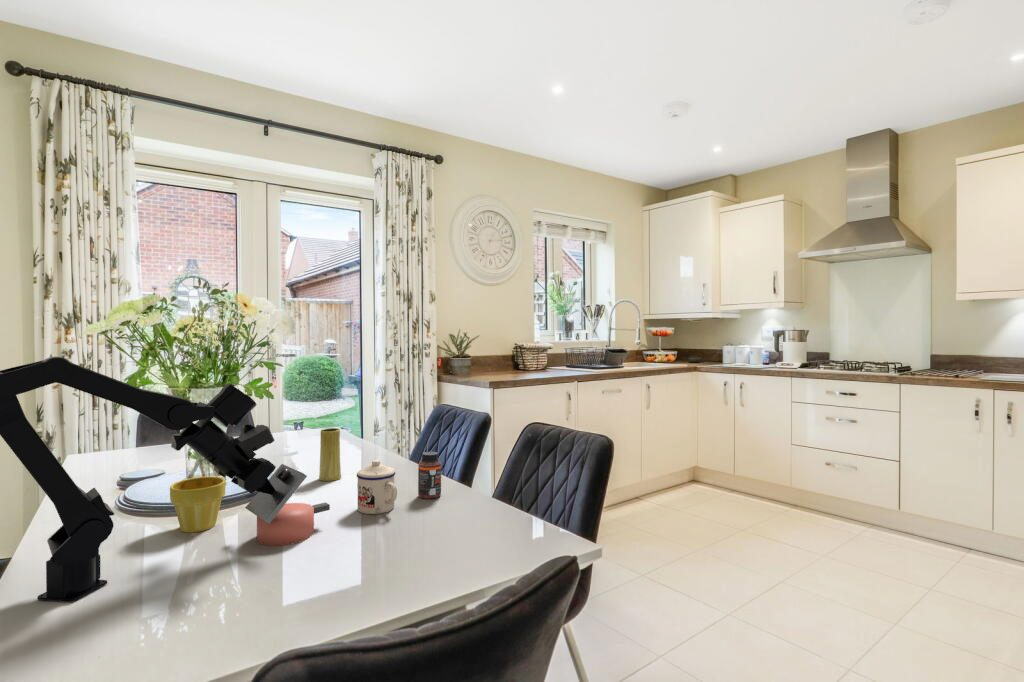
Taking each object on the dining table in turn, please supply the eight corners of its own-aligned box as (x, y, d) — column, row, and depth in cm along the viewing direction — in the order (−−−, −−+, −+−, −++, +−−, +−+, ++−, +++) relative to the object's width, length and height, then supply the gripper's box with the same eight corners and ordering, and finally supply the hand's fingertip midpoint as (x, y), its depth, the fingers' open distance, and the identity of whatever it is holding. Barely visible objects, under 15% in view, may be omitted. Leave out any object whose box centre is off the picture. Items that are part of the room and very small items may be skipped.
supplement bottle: (439, 499, 135) (439, 455, 135) (416, 499, 135) (416, 455, 135) (442, 492, 141) (443, 450, 141) (420, 492, 141) (420, 450, 141)
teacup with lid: (348, 509, 127) (348, 461, 127) (379, 500, 134) (380, 454, 134) (379, 520, 120) (379, 469, 119) (410, 510, 127) (411, 462, 127)
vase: (318, 477, 155) (318, 428, 155) (339, 474, 158) (339, 427, 157) (320, 482, 150) (320, 432, 149) (342, 480, 152) (342, 430, 152)
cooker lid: (269, 524, 103) (259, 517, 102) (248, 510, 111) (239, 503, 109) (307, 476, 108) (298, 469, 107) (285, 466, 116) (276, 459, 115)
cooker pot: (269, 550, 103) (269, 525, 103) (248, 535, 111) (248, 511, 111) (339, 530, 114) (339, 507, 113) (316, 517, 121) (316, 496, 121)
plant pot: (200, 538, 109) (200, 491, 109) (158, 534, 111) (157, 487, 111) (236, 520, 119) (236, 477, 119) (196, 517, 121) (196, 474, 121)
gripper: (265, 419, 98) (320, 468, 106) (231, 408, 112) (283, 453, 119) (218, 467, 93) (280, 516, 101) (188, 450, 106) (245, 494, 114)
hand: (273, 492), depth 109 cm, fingers closed, pressing on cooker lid
